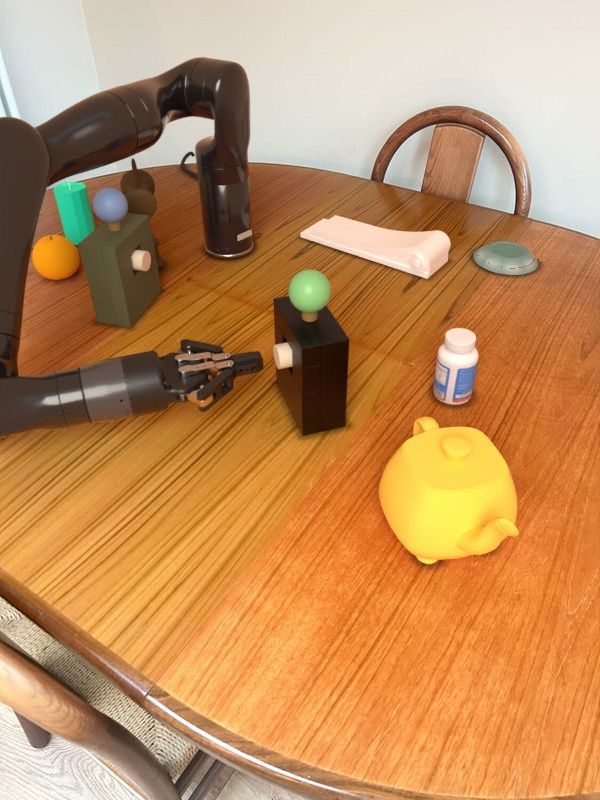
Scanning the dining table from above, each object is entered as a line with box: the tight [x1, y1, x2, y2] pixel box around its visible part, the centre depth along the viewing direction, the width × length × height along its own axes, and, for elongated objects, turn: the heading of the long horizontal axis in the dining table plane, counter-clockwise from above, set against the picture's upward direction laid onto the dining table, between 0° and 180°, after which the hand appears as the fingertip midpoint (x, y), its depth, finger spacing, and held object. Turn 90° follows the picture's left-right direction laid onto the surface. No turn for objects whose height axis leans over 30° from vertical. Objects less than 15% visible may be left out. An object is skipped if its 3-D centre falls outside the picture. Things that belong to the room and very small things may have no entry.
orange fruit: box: [31, 234, 81, 281], centre depth 117 cm, size 8×8×8 cm
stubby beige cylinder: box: [272, 342, 292, 369], centre depth 84 cm, size 2×3×3 cm
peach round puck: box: [130, 250, 151, 271], centre depth 104 cm, size 2×3×3 cm
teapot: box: [378, 416, 520, 565], centre depth 69 cm, size 14×20×13 cm
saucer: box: [472, 240, 539, 276], centre depth 122 cm, size 12×12×2 cm
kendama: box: [120, 157, 165, 270], centre depth 115 cm, size 6×10×20 cm, turn 13°
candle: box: [53, 178, 96, 246], centre depth 127 cm, size 6×6×12 cm
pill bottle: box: [432, 327, 479, 406], centre depth 89 cm, size 6×5×10 cm
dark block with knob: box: [272, 268, 350, 437], centre depth 84 cm, size 6×12×20 cm, turn 18°
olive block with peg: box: [78, 186, 162, 328], centre depth 104 cm, size 6×12×20 cm, turn 165°
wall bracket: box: [300, 214, 451, 280], centre depth 124 cm, size 10×7×28 cm
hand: (261, 360), depth 84 cm, fingers closed
